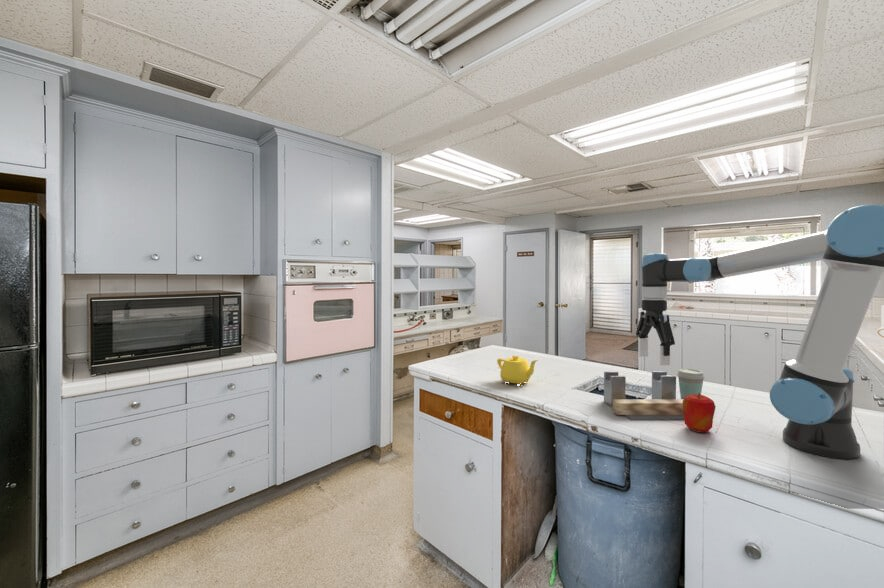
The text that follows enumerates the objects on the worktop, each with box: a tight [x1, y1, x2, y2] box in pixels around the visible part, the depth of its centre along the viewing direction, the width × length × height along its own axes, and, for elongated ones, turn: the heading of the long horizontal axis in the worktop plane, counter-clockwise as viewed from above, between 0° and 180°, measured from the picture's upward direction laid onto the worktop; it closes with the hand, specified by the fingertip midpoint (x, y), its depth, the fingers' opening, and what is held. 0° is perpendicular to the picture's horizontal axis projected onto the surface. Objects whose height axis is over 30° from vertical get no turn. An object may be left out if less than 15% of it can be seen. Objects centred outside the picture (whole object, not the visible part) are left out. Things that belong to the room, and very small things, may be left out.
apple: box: [682, 393, 716, 433], centre depth 115 cm, size 9×8×12 cm
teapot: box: [496, 355, 539, 384], centre depth 168 cm, size 13×20×12 cm
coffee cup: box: [676, 368, 705, 399], centre depth 139 cm, size 8×8×12 cm
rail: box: [612, 398, 684, 416], centre depth 128 cm, size 26×4×4 cm, turn 88°
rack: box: [603, 370, 677, 408], centre depth 138 cm, size 7×23×12 cm, turn 88°
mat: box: [624, 415, 684, 421], centre depth 128 cm, size 10×24×1 cm, turn 88°
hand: (653, 360), depth 128 cm, fingers open, 13 cm apart
